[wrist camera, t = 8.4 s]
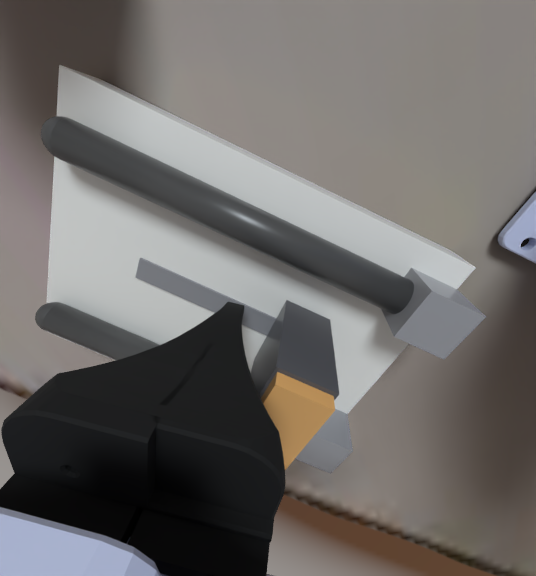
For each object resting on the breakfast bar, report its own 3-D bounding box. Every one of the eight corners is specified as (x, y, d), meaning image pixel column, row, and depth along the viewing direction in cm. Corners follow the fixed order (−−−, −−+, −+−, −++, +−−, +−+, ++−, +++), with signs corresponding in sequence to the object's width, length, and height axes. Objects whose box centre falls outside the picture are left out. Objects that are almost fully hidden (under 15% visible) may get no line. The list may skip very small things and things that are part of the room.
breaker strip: (451, 250, 12) (510, 291, 8) (318, 415, 17) (320, 483, 14) (99, 78, 11) (-2, 42, 7) (73, 311, 16) (8, 355, 13)
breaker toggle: (330, 319, 12) (341, 408, 8) (293, 375, 13) (286, 473, 9) (286, 299, 11) (274, 379, 7) (254, 358, 13) (230, 450, 9)
